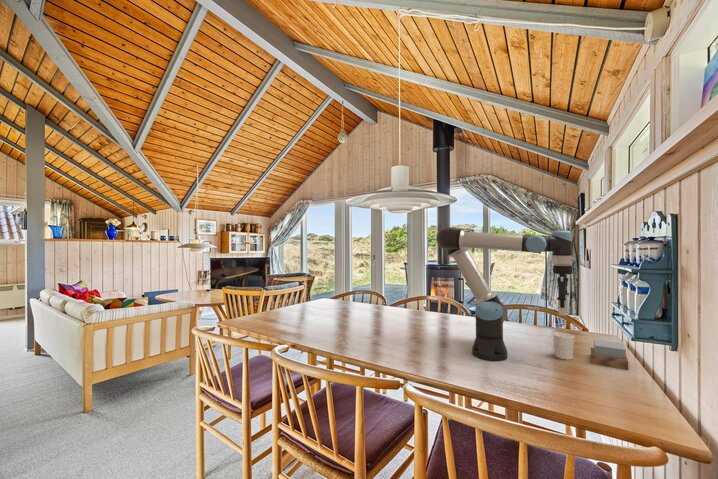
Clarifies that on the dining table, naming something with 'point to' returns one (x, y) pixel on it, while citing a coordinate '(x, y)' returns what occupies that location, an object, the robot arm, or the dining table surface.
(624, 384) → the dining table surface
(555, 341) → the white cup
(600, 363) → the walnut base block
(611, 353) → the slate top block
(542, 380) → the dining table surface
